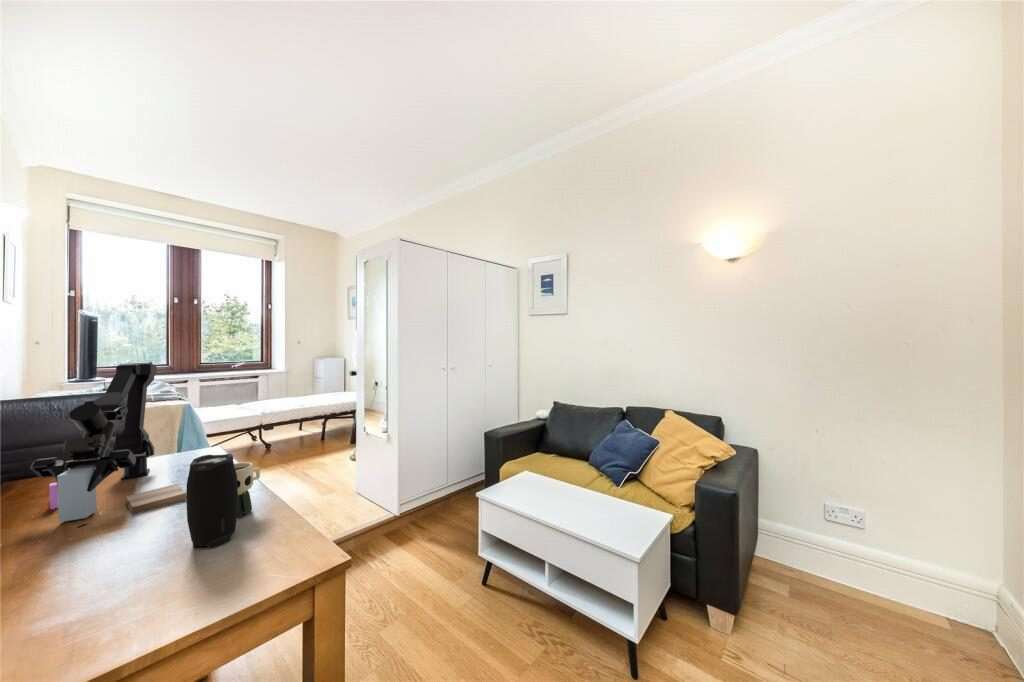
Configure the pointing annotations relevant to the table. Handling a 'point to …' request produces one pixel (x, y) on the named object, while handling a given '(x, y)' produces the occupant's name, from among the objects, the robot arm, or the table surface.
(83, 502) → the block
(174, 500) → the plinth
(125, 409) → the robot arm
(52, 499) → the bracket
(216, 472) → the portable speaker
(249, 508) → the character mug
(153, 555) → the table surface
